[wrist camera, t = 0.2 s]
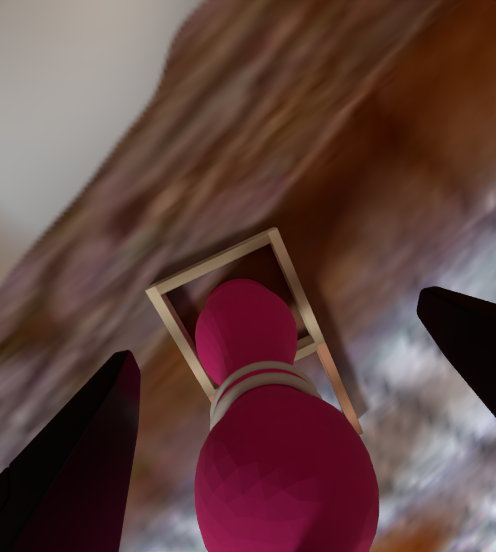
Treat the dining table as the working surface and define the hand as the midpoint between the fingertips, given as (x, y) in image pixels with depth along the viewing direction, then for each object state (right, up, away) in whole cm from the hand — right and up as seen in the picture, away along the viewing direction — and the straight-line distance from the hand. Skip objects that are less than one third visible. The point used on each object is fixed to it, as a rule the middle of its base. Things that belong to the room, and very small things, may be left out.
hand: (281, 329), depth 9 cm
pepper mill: (-2, -2, +16) cm, 17 cm away
